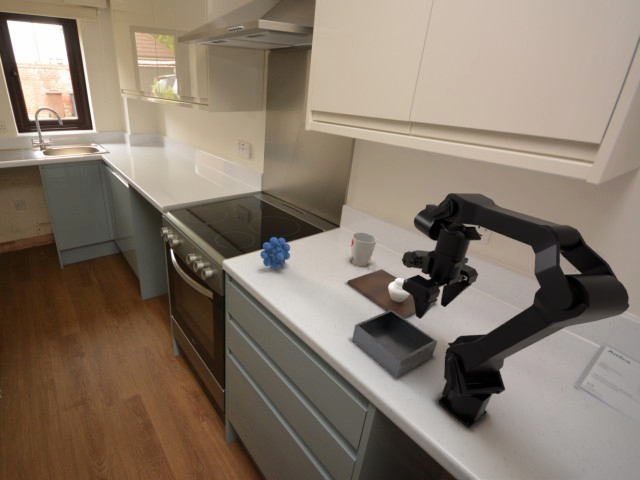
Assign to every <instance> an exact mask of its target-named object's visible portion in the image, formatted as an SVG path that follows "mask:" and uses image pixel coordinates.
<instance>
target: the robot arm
mask: <svg viewBox="0 0 640 480" xmlns="http://www.w3.org/2000/svg"><path fill="white" fill-rule="evenodd" d="M413 225H414V228H415V229H416V230H418V231H419V232H420V233H422V234H423V235H425V236H426V237H427V238H429V239H430V240H432V241H434V242H436V244H435V247H434V249H433V250H429V251H428V250H420V249H419V250H412V251H411V250H409V251H405V252H403V255H402V259H401V262H402V265H403V266H404V267H406V268H409V269H411V268H412V269H419V270H421V273H422V274H424V275H428V277H429V279H428V278H425V277H423V276H422V275H420V274H416V275H414V276H411V277H408V278H404V279H405V280H404V281H403V285H402V289H403V290H405V291H406V292H408V293H409V294H411V295H412V296H413V299H414V304H415V312H416V313H415V316H416V318H418V319H419V320H421V319H422V318H424V317H425V315H426V314H427V313H428V312H429V311H430V310H431V308H432V307H433V306H434V305H435V304H436V303H437V302H438V297H439V296H440V293H441V299H440V306H442V307H444V308H446V307H447V306H449V305H450V304H451V303H452V302H453V301H454V300H455V299H456V298H458V297H459V296H460V295H461V294H462V293H463V292H464V291H466V290H467V289H469V287H471V286H472V284H473V283H476V282H477V279H478V277H479V273H478V271H477V270H476V268H474V267H473V266H470V265H468V262H469V257H466V255H467V252H468V250H469V248H470V247H469V246H470V243H471V242H472V241H481V240H482V236H481V234H480V233H479V232H478V230H477V226H478V227H481V228H483V229H485V230H489V231H491V232H494V233H497V234H499V235H502V236H503V237H506V238H509V239H512V240H514V241H517V242H518V243H522V244H524V245H527V246H530V247H531V249H532V251H533V253H534V268H533V269H534V270H533V271H534V276H535V279H536V280H537V283H538V285H539V288H538V289H537V290H536V291H535V293H534V296H533V302H532V304H531V305H530V306H528V307H526V308H525V309H524V310H521V311H520V312H519V313H518V314H516V315H514V316H513V317H511V318H510V319H508V320H506V321H505V322H503V323H502V324H500V325H498V326H497V327H495V328H494V329H492V330H490V331H489V332H487V333H486V334H484V333H483V334H482V333H481V334H467V335H459V336H458V337H456V339H454V341H452V342H447V345H448V347H447V348H446V349H445V352H444V353H445V355H444V363H443V364H444V366H443V368H444V369H443V378H444V380H445V383H444V387H443V389H442V392H441V396H442V397H440V398H439V399H438V401H437V403H438V405H440V406H441V407H442V408H444V409H445V410H446V411H447V412H449V413H450V414H451V415H452V416H453V417H454V418H455V419H457V420H458V421H459V422H461V423H462V425H464V426H466V427H467V428H469V429H470V428H472V427H473V426H475V424H476V423H478V422H479V421H480V420H481V419H482V418H484V417H485V416H486V415H487V413H488V411H487V410H486V408H487V406H488V404H489V402H490V399H491V397H492V395H495V394H496V395H500V394H502V393H503V392H506V391H505V390H506V387H505V384H504V380H503V377H502V374H501V369H502V368H503V367H504V363H505V360H506V359H507V358H509V357H510V356H513V355H515V354H516V353H519V352H520V351H523V350H524V349H526V348H528V347H530V346H532V345H534V344H536V343H537V342H540V341H542V340H544V339H546V338H547V337H548V338H549V336H552V335H553V334H555V333H557V332H559V331H560V330H563V329H565V328H568V327H571V326H572V327H573V326H577V325H581V324H582V325H583V324H588V323H592V322H597V321H602V320H605V319H608V318H612V317H617V316H620V315H622V314H624V313H625V312H626V311H628V310H629V308H630V303H629V301H630V297H629V292H628V290H627V288H626V287H625V285H624V284H623V283H622V282H621V281H620V280H619V279H618V277H617V276H616V274H615V271H613V269H612V268H611V265H610V264H609V263H608V262H607V260H605V259H604V258H603V257H602V256H601V255H600V254H598V253H597V252H596V251H595V250H594V249H593V248H592V247H591V246H590V245H588V244H587V242H586V241H585V239H584V237H583V236H582V233H581V232H580V231H579V230H578V229H577V228H575V227H573V226H571V225H569V224H559V223H557V222H554V221H553V222H552V221H549V220H546V219H544V218H543V219H542V218H539V217H535V216H532V215H529V214H526V213H523V212H518V211H516V210H512V209H508V208H506V207H502V206H499V205H497V204H496V203H495V201H494V200H493V199H492V198H490V197H488V196H486V195H484V194H482V193H472V192H471V193H470V192H469V193H467V192H464V193H463V192H462V193H461V192H449V193H448V194H447V195H446V196H445V197H444V199H443V200H442V201H441V202H440V203H439V204H438V205H437V204H435V203H433V204H432V203H427V204H426V205H425V207H424V208H423V209H422V210H421V211H419V212H418V213H416V216H414V218H413ZM467 225H469V226H467ZM561 257H563V258H564V259H565V260H566V261H567V262H568V263H569V264H571V265H572V267H574V268H575V269H576V270H577V271H578V272H579V273H566V274H565V273H564V271H563V268H562V267H561ZM440 288H443V289H442V292H441V289H440Z"/></svg>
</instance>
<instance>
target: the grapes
mask: <svg viewBox="0 0 640 480" xmlns="http://www.w3.org/2000/svg"><path fill="white" fill-rule="evenodd" d="M262 248H263V250H261V252H260V254H259V255H260V258H261V259H262V263H263V266H265V267H270V269H272V270H276V269H278V267H280V268H281V267H282V268H283V267H284V266H285V265H286V261H288V260H289V259H290V258H291V254H290V250H291V246H290V244H289V243H286V239H285V238H284V237H279V238H277V237H276V236H272V237H270V239H269V242H268V241H266V242H263V244H262Z"/></svg>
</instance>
